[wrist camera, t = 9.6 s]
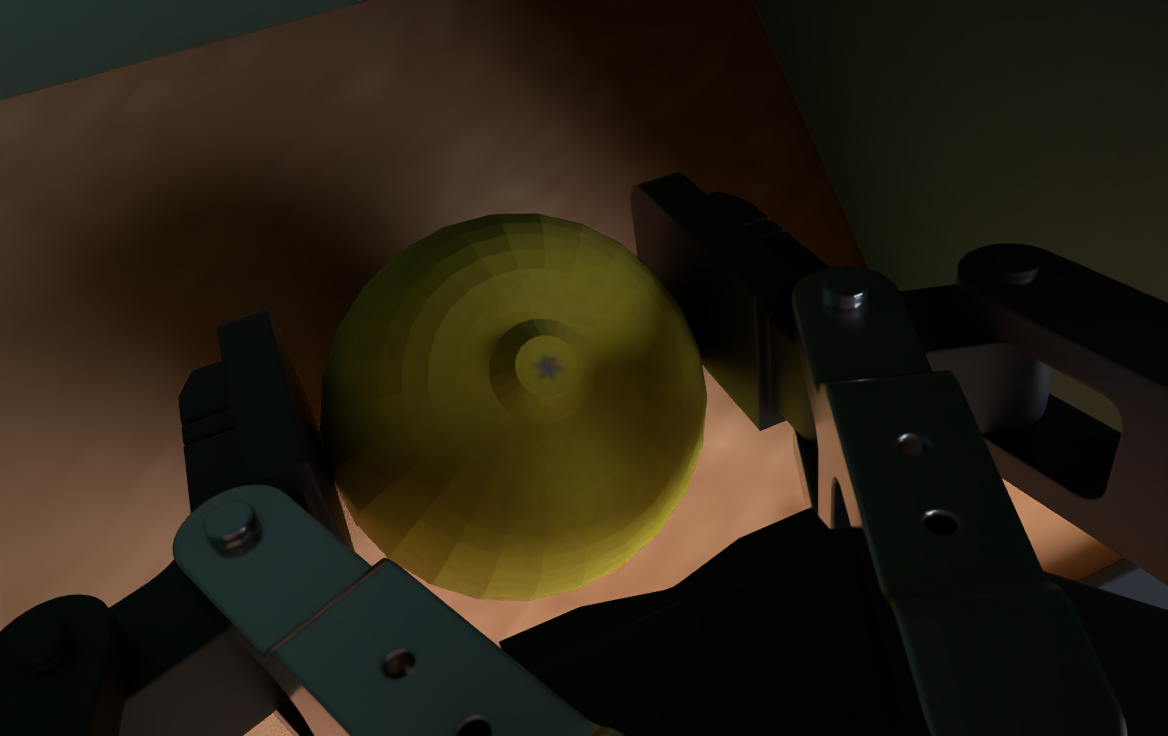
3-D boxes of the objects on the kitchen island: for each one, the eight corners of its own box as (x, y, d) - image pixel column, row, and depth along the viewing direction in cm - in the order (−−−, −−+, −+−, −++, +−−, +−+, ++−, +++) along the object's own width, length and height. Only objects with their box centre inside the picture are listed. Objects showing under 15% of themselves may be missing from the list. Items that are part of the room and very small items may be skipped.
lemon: (338, 589, 17) (274, 635, 10) (347, 289, 18) (294, 110, 11) (639, 583, 18) (801, 619, 11) (633, 297, 19) (779, 138, 11)
